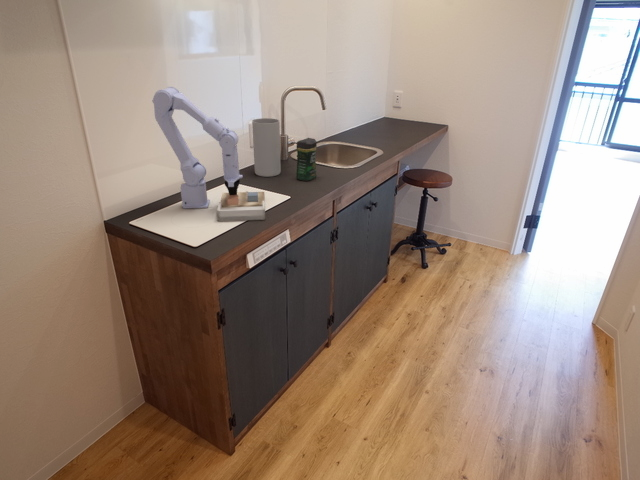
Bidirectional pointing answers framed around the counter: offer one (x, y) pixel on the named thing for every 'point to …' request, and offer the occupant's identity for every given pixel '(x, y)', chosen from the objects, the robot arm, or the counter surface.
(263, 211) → the box
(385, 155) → the counter surface
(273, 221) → the counter surface
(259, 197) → the oak board
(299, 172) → the coffee jar
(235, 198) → the terracotta block
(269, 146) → the cylinder vase
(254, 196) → the slate tile
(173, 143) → the robot arm
